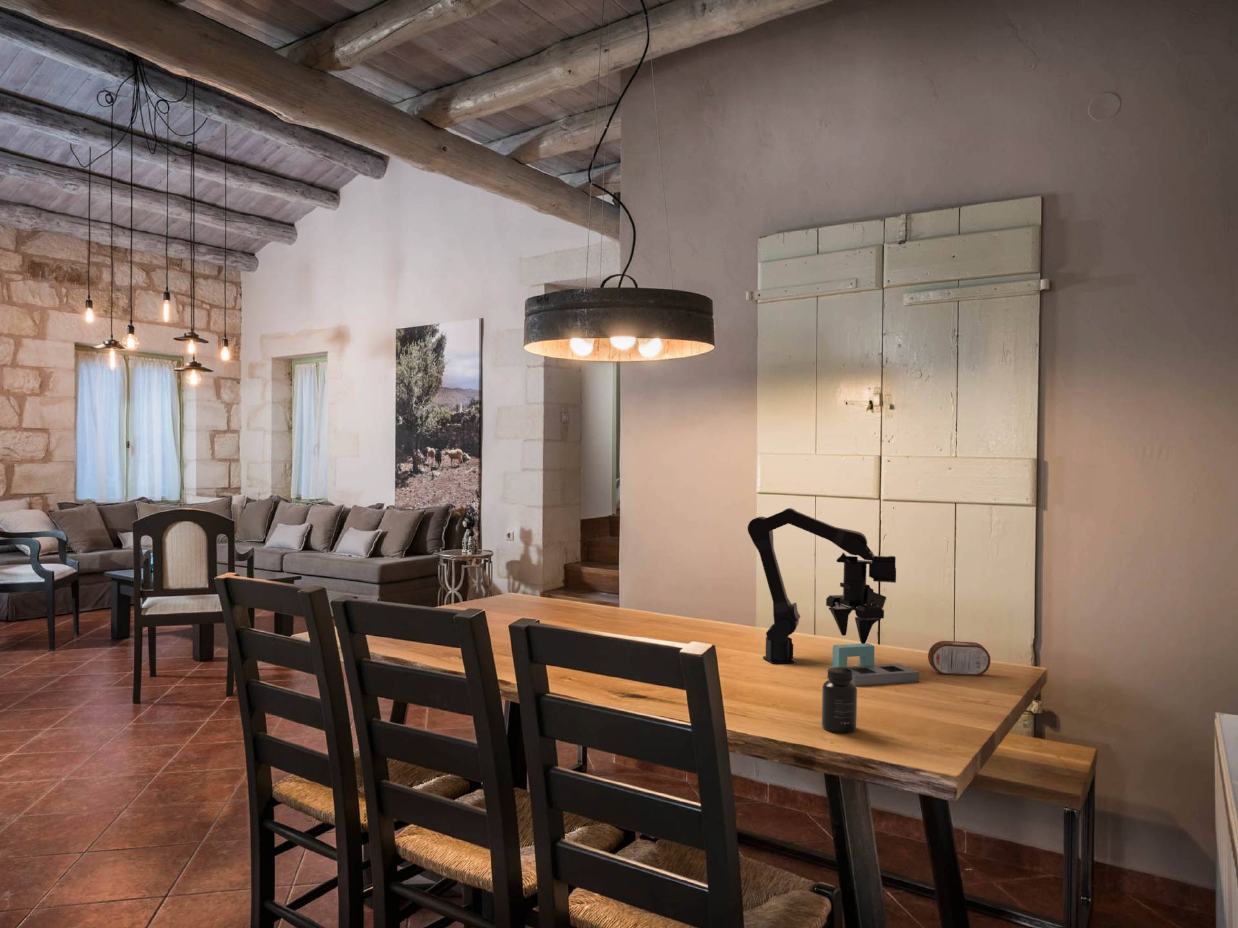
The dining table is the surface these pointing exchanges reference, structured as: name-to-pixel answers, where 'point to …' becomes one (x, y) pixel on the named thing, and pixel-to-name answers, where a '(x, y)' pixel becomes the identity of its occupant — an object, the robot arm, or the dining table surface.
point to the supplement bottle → (839, 701)
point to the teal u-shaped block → (853, 654)
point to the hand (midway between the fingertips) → (853, 639)
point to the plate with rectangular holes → (883, 674)
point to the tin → (959, 658)
